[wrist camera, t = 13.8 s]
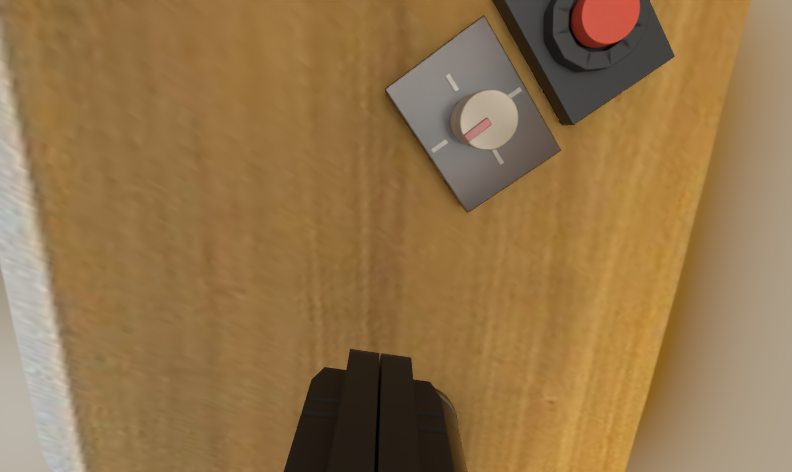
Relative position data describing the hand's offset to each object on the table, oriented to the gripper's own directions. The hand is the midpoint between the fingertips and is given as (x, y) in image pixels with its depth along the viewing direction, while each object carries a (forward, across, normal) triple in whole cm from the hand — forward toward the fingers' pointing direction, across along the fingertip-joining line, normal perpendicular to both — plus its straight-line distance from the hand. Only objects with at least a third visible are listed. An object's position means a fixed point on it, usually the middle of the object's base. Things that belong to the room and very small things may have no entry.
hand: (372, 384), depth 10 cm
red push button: (+23, -13, -16) cm, 31 cm away
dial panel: (+27, -6, -7) cm, 29 cm away
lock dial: (+24, -6, -7) cm, 26 cm away
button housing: (+27, -13, -16) cm, 34 cm away
